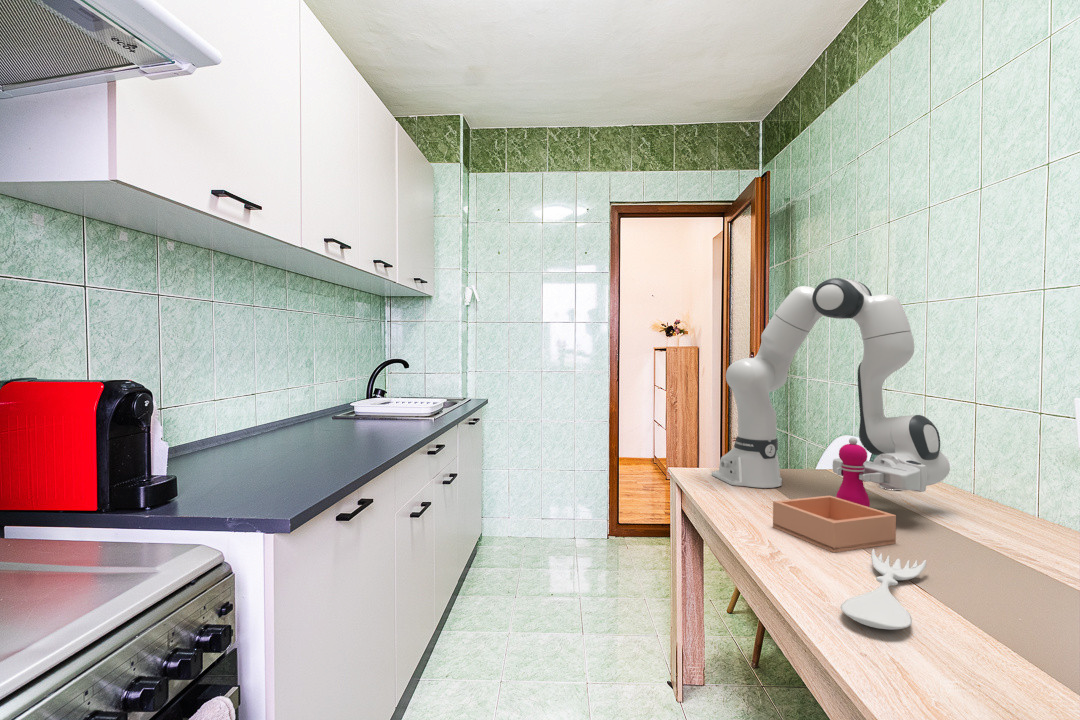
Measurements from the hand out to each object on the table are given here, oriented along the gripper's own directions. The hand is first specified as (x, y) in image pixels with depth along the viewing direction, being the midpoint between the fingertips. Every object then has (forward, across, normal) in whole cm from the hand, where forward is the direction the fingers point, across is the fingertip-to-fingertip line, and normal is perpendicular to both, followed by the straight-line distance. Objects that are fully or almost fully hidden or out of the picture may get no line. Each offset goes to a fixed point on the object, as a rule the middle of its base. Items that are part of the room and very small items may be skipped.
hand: (849, 474), depth 132 cm
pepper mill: (-1, 0, +11) cm, 11 cm away
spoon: (+30, +34, +12) cm, 47 cm away
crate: (+13, +7, +11) cm, 18 cm away
